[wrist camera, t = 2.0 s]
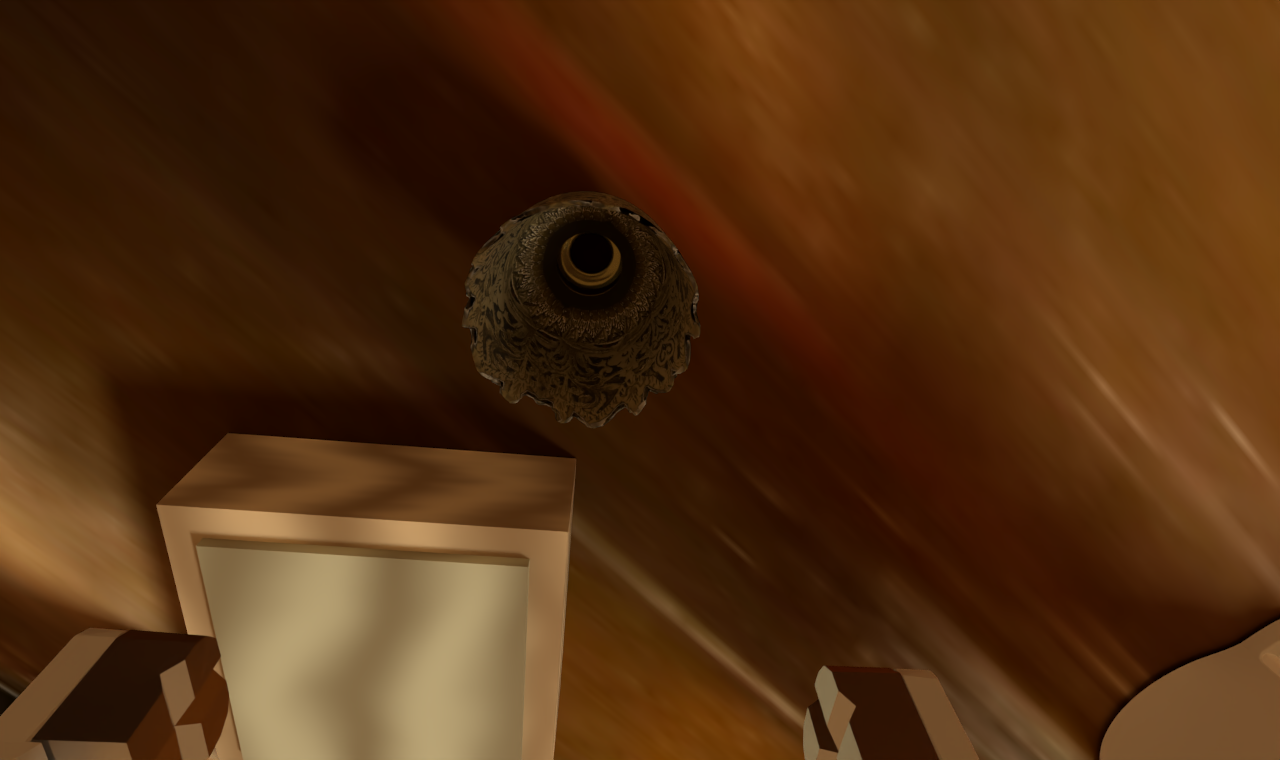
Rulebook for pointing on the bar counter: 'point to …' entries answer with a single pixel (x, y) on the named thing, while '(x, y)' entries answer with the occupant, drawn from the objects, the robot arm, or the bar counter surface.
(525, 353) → the cup
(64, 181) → the bar counter surface
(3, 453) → the bar counter surface
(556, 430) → the bar counter surface
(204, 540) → the tan square lid
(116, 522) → the bar counter surface
